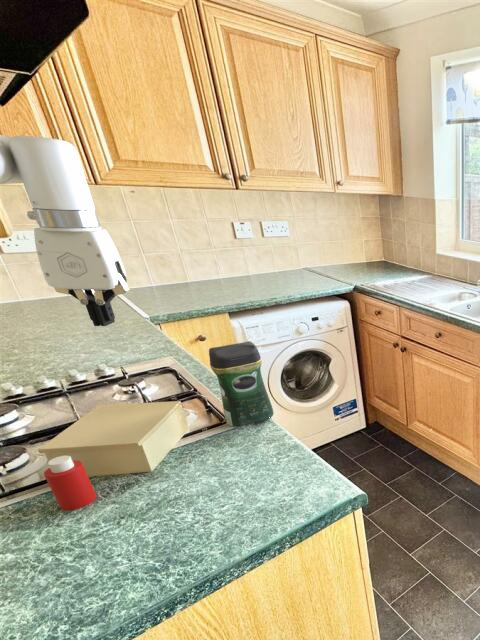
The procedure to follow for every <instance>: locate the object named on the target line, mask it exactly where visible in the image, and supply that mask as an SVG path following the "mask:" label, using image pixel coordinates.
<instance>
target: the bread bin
mask: <svg viewBox="0 0 480 640" xmlns="http://www.w3.org/2000/svg"><path fill="white" fill-rule="evenodd" d="M189 430H190V426H189V423H188V420H187V417H186V413H185V411H184V406H183V404H181V405H180V406H179V407H178V408H177V409H176V410H175V411H174V412H173V413H172V414H171V415H170V416H169V417H168V418H167V419H166V420H165V421H164V422H163V423H162V424H161V425H160V426H159V427H158V428H157V429H156V430H155V431H154V432H153V433H152V434H151V435H150V436H149V437H148V438H147V439H146V440H145V441H144V442H143V443H142V444H141V445H140V446H139V447H126V448H111V449H96V450H81V451H66V452H52V453H44V456H45V458H46V459H47V462H49V461H50V460H52V459H54V458H56V457H60V456H70V457H71V459H72V461H73V460H76V461H80V462H82V464H83V466H84V469H85V471H86V473H87V475H88V477H89V478H90V477H100V476H101V477H102V476H111V475H125V474H139V473H150V472H151V473H152V472H153V471H154V470H155V469H156V468H157V467H158V465H159V464H160V463H161V462H162V461H163V460H164V459H165V457H166V456H168V454H169V453H170V452H171V450H173V448H174V447H175V446H176V445H177V444H178V442H179V441H180V440H181V439H182V438H183V437H184V435H186V434H187V432H188V431H189Z"/></svg>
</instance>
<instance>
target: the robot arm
mask: <svg viewBox="0 0 480 640" xmlns="http://www.w3.org/2000/svg"><path fill="white" fill-rule="evenodd" d="M11 184H23V186H24V187H23V188H24V190H25V193H26V194H27V197H28V200H29V203H30V205H31V209H32V210H28V211H27V212H26V216H27V217H28V219H30V220H31V221H33V220H34V221H36V222H37V223H36V224H37V225H38V227H35V228H33V230H34V231H33V235H34V244H35V245H34V246H35V251H36V254H37V258H38V262H39V266H40V268H41V272H42V275H43V277H44V280H45V283H46V284H47V285H48V286H50V287H52V288H54V291H55V292H56V293H59V294H65V295H70V296H72V297H73V298H75V299H76V300H78V301H79V303H80V304H82V305H83V306H85V308H86V311H87V313H88V316H89V319H90V320H91V321H92V323H93V324H92V325H93V326H94V327H107V326H110V325H111V324H113V323H115V322H116V321H115V319H116V315H115V313H114V310H113V307H112V304H111V303H112V302H113V301H114V298H115V297H116V296H119V295H124V294H127V293H129V292H130V291H131V290H130V287H129V286H128V284H127V282H128V276H127V273H126V269H125V267H124V264H123V261H122V259H121V257H120V254H119V251H118V249H117V247H116V245H115V243H114V241H113V239H112V238H111V236H110V234H109V232H108V231H107V229H105V228H102V226H101V223H100V219H99V216H98V213H97V210H96V208H95V207H96V206H95V203H94V201H93V197H92V194H91V191H90V187H89V184H88V182H87V178H86V176H85V172H84V169H83V166H82V162H81V160H80V156H79V154H78V151H77V149H76V148H75V146H74V145H73V144H72V143H71V142H68V141H66V140H63V139H59V138H51V137H45V136H44V137H43V136H33V135H14V136H9V135H5V134H0V185H11Z"/></svg>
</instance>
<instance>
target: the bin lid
mask: <svg viewBox="0 0 480 640" xmlns="http://www.w3.org/2000/svg"><path fill="white" fill-rule="evenodd" d="M180 405H182V401H181V400H177V401H176V400H175V401H157V402H153V401H151V402H133V403H132V402H131V403H112V404H111V403H110V404H109V403H108V404H98V405H97V406H95V407H94V408H93V409H91V410H90V411H88V412H87V413H86V414H85V415H83V416H82V417H81V418H79V419H77V420H76V421H75V422H74V423H72V424H71V425H69V426H68V427H67V428H65V429H64V430H62V431H61V432H60V433H59V434H58V435H56V436H55V437H53V438H52V439H50V440H49V441H48V442H46V443H44V445H42V446H41V447H40V448H38V449H37V451H38V453H39V454H45V453H52V452H66V451H81V450H96V449H111V448H126V447H139V446H140V445H141V444H142V443H143V442H144V441H145V440H146V439H147V438H148V437H149V436H150V435H151V434H152V433H153V432H154V431H155V430H156V429H157V428H158V427H159V426H160V425H161V424H162V423H163V422H164V421H165V420H166V419H167V418H168V417H169V416H170V415H171V414H172V413H173V412H174V411H175V410H176V409H177V408H178V407H179V406H180Z"/></svg>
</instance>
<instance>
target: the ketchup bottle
mask: <svg viewBox="0 0 480 640" xmlns="http://www.w3.org/2000/svg"><path fill="white" fill-rule="evenodd" d="M47 465H48V468H47V469H46V470H45V471H43V477H44V479H45V480H46V482H47V484H48V486H49V488H50V490H51V492H52V494H53V496H54V497H55V500H56V502H57V504H58V506H59V508H60V509H61V510H62V511H64V512H65V511H66V512H67V511H76V510H78V509H82V508H84V507H87V506H89V505H90V504H92V503H93V502H94V501H95V500H96V499H97V498H98V495H97V493H96V490H95V487H94V486H93V484H92V482H91V480H90V476H89V477H88V475H87V473H86V471H85V469H84V466H83V464H82V462H80V461H76V460H73V461H72V459H71V457H70V456H60V457H56V458H54V459H52V460H50V461H47Z"/></svg>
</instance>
